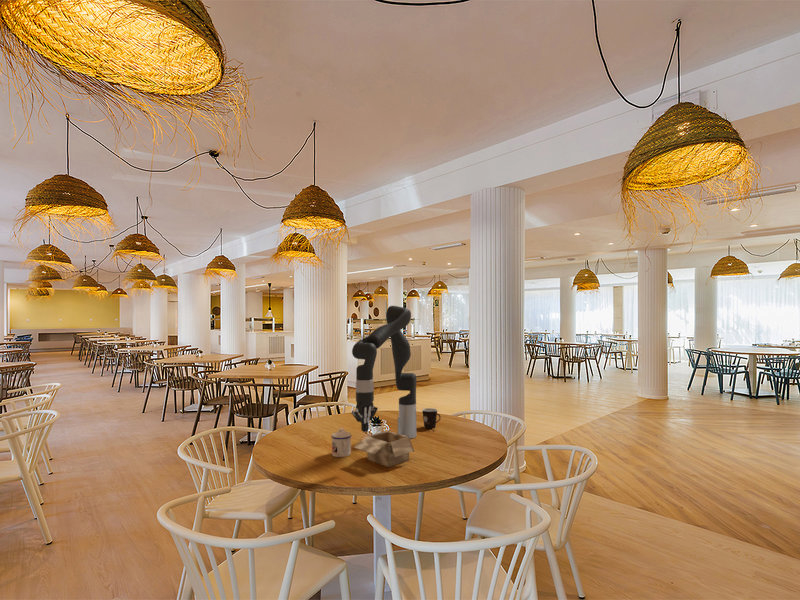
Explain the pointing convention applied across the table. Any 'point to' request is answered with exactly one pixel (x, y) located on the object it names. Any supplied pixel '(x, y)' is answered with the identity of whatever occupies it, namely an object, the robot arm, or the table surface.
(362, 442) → the front flap
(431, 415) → the coffee mug
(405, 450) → the carton
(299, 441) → the table surface
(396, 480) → the table surface
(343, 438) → the teacup with lid
